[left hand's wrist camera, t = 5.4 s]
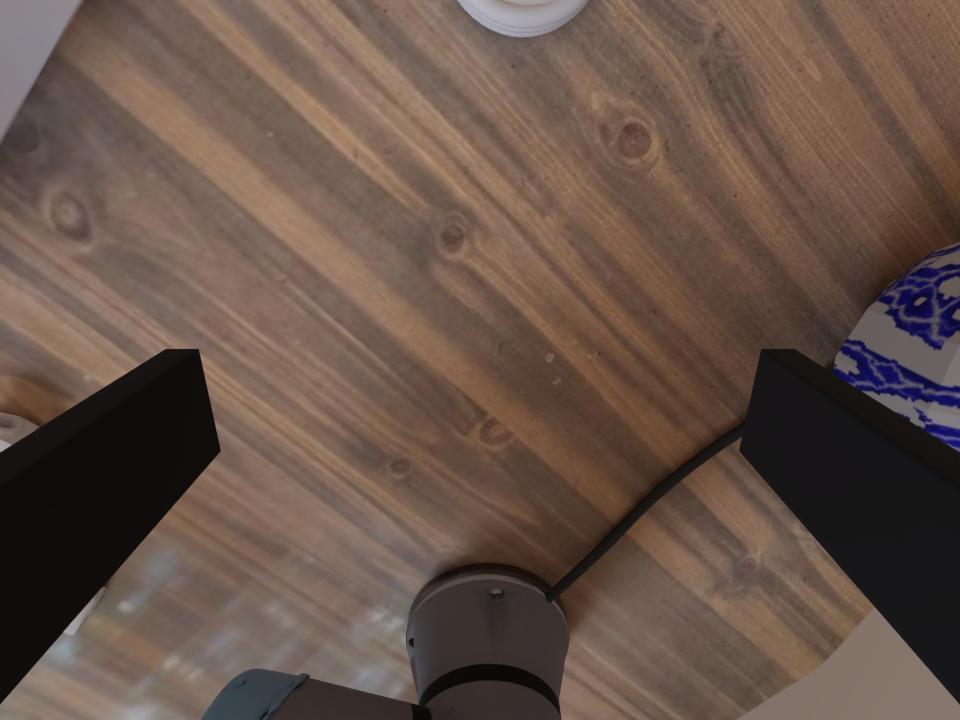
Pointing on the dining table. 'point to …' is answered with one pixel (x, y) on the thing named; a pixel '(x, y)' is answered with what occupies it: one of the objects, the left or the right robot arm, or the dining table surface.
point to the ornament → (913, 346)
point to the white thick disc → (523, 15)
